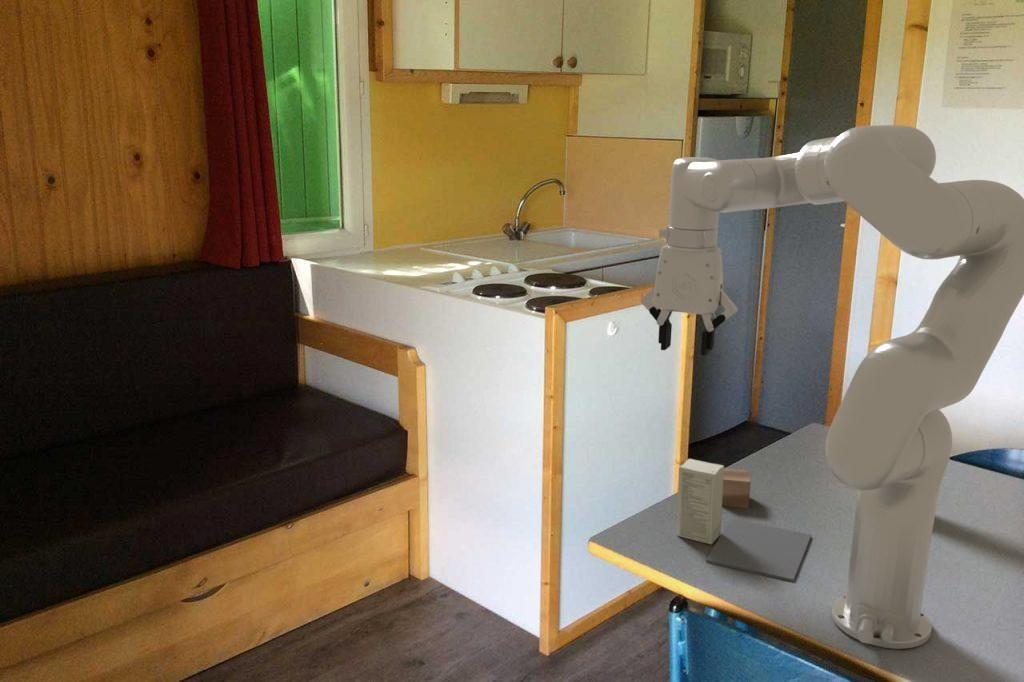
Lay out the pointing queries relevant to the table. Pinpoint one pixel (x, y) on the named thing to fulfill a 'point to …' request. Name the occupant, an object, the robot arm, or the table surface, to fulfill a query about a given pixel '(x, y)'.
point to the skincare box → (700, 500)
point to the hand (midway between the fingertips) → (685, 349)
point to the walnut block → (736, 488)
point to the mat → (760, 549)
